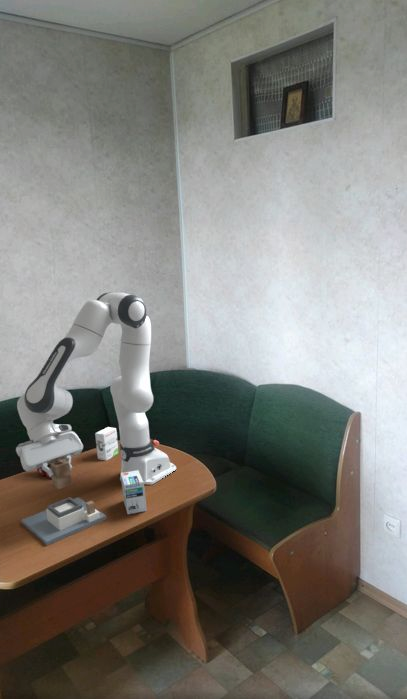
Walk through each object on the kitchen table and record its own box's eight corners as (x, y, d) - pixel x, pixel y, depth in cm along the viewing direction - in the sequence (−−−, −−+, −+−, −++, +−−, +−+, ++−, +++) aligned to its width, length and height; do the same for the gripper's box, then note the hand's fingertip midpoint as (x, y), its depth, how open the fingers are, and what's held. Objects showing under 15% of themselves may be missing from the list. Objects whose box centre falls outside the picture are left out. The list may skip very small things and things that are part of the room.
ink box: (110, 451, 232) (107, 426, 230) (119, 453, 230) (116, 427, 228) (97, 459, 225) (94, 432, 223) (106, 461, 223) (103, 434, 220)
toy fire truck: (55, 481, 207) (52, 455, 205) (35, 474, 214) (31, 450, 212) (69, 474, 212) (66, 449, 210) (49, 467, 220) (46, 444, 217)
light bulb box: (147, 511, 179) (144, 481, 177) (127, 515, 177) (124, 485, 175) (141, 497, 189) (139, 469, 187) (122, 501, 188) (120, 472, 185)
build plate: (78, 500, 190) (76, 483, 188) (106, 519, 176) (104, 500, 174) (21, 523, 176) (19, 504, 175) (47, 545, 162) (44, 525, 161)
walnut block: (65, 480, 175) (62, 456, 173) (71, 484, 172) (68, 460, 170) (52, 484, 172) (49, 460, 170) (58, 489, 169) (55, 464, 167)
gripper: (15, 440, 167) (32, 478, 162) (74, 423, 180) (92, 458, 175) (11, 450, 171) (28, 488, 166) (69, 432, 184) (86, 467, 179)
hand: (61, 472), depth 170 cm, fingers closed on walnut block, 4 cm apart
